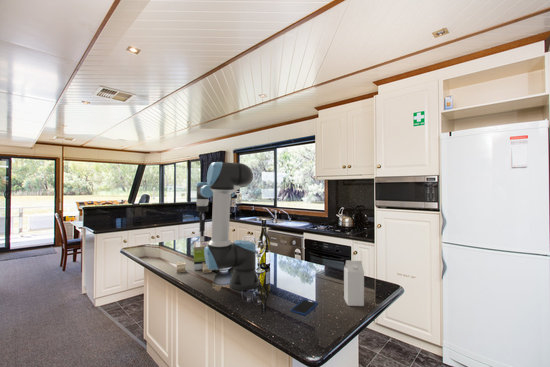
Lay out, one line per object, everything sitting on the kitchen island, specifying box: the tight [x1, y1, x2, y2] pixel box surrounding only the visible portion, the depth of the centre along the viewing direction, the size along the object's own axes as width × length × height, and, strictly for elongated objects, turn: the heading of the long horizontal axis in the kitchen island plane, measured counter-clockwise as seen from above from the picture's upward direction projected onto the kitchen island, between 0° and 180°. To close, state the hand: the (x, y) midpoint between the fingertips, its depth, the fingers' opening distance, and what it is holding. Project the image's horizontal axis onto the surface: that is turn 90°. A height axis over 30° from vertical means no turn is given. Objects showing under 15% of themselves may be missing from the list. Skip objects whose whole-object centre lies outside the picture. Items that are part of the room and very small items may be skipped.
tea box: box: [193, 240, 210, 271], centre depth 169 cm, size 15×10×15 cm
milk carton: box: [343, 260, 365, 307], centre depth 117 cm, size 7×7×19 cm
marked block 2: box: [201, 262, 213, 274], centre depth 159 cm, size 5×5×5 cm
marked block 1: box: [176, 261, 186, 274], centre depth 159 cm, size 5×5×5 cm
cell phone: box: [290, 298, 319, 316], centre depth 112 cm, size 7×14×1 cm, turn 147°
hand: (201, 241), depth 170 cm, fingers closed
